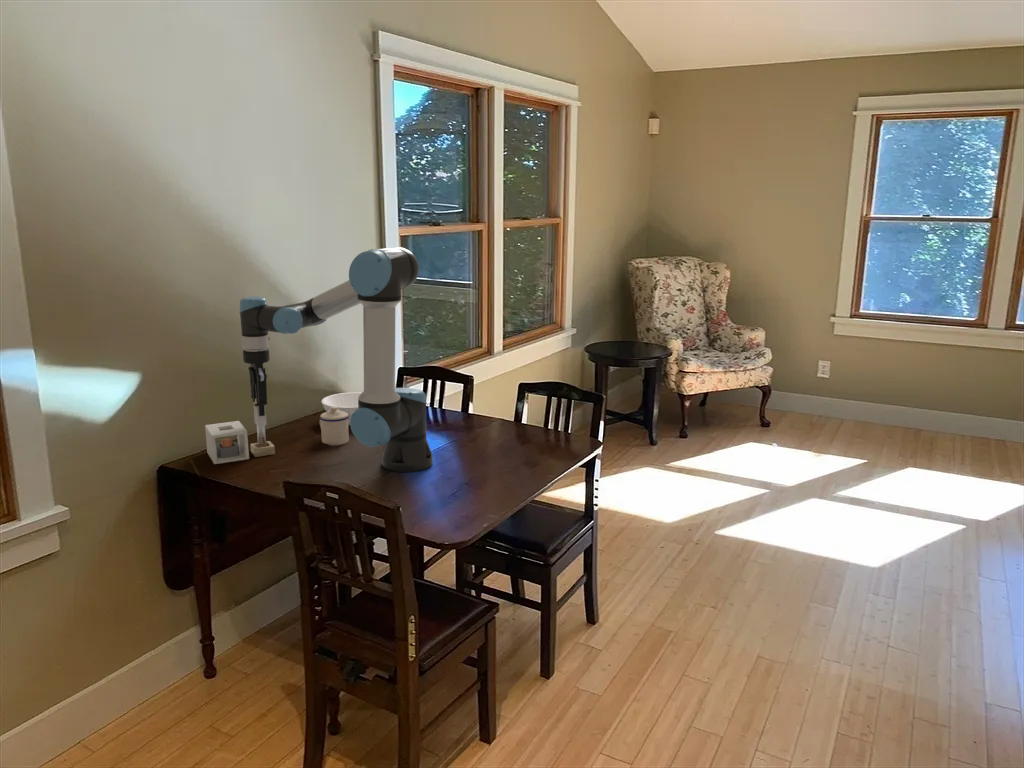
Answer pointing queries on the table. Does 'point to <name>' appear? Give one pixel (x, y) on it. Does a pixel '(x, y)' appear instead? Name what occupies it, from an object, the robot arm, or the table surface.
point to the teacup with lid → (334, 427)
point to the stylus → (260, 431)
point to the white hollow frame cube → (227, 453)
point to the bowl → (342, 402)
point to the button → (226, 442)
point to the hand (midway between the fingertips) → (260, 424)
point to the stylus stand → (262, 449)
